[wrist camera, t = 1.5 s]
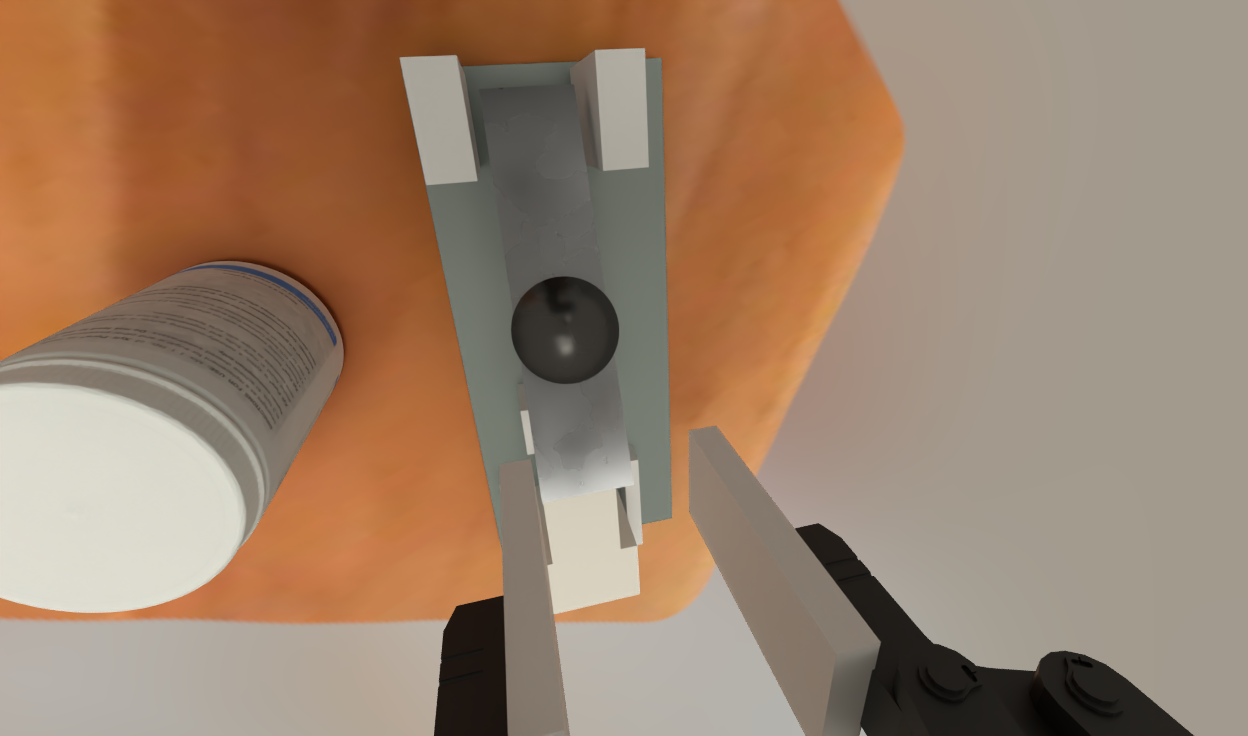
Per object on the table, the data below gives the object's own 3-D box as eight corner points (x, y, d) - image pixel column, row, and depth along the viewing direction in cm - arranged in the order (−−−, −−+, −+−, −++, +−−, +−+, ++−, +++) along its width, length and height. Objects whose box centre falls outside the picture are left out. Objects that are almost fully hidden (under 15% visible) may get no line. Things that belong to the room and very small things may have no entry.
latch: (516, 426, 34) (522, 498, 28) (605, 411, 35) (632, 476, 29) (534, 531, 38) (543, 616, 31) (614, 514, 39) (640, 594, 32)
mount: (404, 71, 26) (370, 48, 19) (655, 60, 28) (714, 36, 21) (502, 542, 39) (505, 638, 32) (667, 508, 42) (705, 590, 34)
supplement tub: (129, 255, 27) (-217, 377, 14) (335, 258, 29) (208, 366, 16) (181, 421, 30) (-49, 639, 17) (359, 412, 33) (272, 601, 20)
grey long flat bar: (477, 106, 23) (471, 75, 21) (575, 100, 24) (581, 70, 21) (536, 496, 23) (537, 509, 21) (632, 477, 24) (643, 488, 22)
